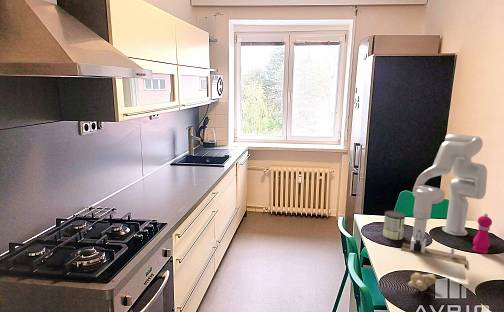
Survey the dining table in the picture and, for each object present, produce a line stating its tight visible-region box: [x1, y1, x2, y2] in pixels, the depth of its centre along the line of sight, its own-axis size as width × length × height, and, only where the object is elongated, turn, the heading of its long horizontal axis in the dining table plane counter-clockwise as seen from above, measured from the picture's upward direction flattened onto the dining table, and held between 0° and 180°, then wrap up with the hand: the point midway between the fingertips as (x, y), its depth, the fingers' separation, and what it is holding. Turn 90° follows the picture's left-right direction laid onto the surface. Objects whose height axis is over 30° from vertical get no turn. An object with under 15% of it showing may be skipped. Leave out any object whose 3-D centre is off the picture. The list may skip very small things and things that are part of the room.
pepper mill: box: [472, 213, 493, 255], centre depth 175 cm, size 7×7×20 cm
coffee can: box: [382, 210, 406, 241], centre depth 188 cm, size 10×10×14 cm
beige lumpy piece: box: [407, 272, 437, 292], centre depth 139 cm, size 8×7×12 cm
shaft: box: [450, 247, 455, 259], centre depth 165 cm, size 3×1×4 cm, turn 151°
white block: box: [410, 235, 427, 253], centre depth 172 cm, size 6×6×5 cm
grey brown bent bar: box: [400, 242, 468, 269], centre depth 169 cm, size 10×28×2 cm, turn 61°
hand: (417, 248), depth 172 cm, fingers closed on white block, 6 cm apart
